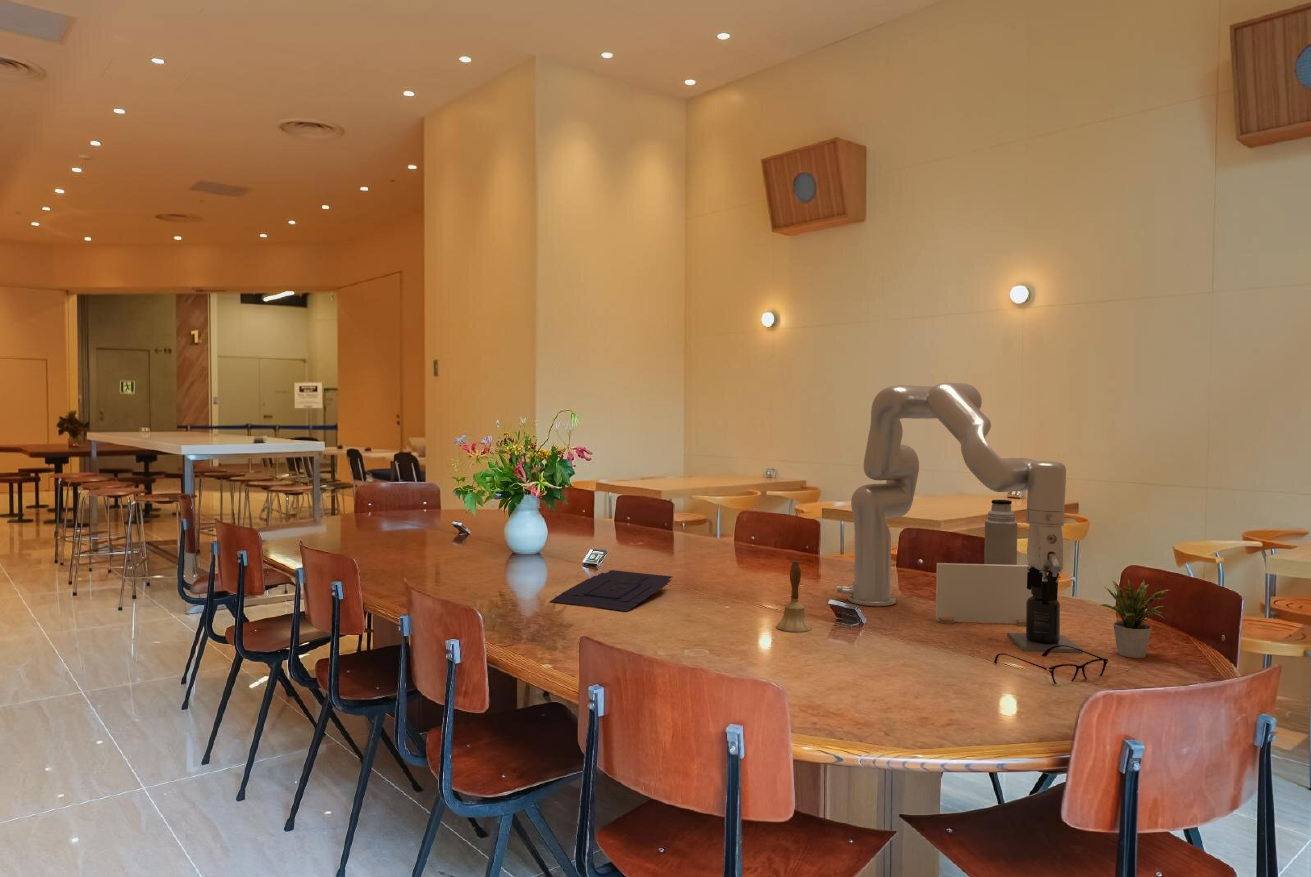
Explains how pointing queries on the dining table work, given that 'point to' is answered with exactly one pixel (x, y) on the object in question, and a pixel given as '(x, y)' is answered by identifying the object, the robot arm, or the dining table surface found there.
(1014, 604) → the screen
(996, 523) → the thermos bottle
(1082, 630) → the dining table surface
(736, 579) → the dining table surface
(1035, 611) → the supplement bottle
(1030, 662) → the eyeglasses
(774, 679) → the dining table surface
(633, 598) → the black flat stepped slab
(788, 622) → the hand bell
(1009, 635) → the pad
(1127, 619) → the house plant
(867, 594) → the robot arm
